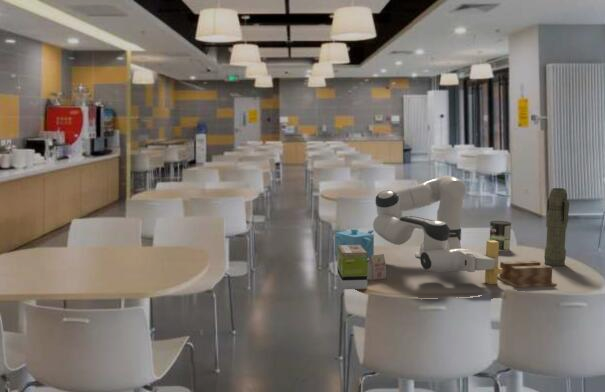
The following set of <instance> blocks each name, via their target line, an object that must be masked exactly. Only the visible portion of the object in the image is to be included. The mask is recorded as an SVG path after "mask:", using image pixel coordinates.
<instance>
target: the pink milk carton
mask: <svg viewBox="0 0 605 392" xmlns="http://www.w3.org/2000/svg"><path fill="white" fill-rule="evenodd" d="M386 271H387V264H386V259H385V254H384V253H381V254H380V253H379V254H374V255H370V257H369V258H368V261H367V278H368V279H367V280H370V279H371V280H370V281H378V280H377V279H379V280H384V278H386V277H387V274H386V273H387V272H386Z"/></svg>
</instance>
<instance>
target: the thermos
mask: <svg viewBox="0 0 605 392" xmlns="http://www.w3.org/2000/svg"><path fill="white" fill-rule="evenodd" d="M567 192H568V191H567V189H565V188H563V187H561V188H560V187H554V188H551V189H550V192H549V195H548V196H549V197H548V198H547V199H546V224H545V226H546V228H547V229H546V245H545V248H544V258H543V259H544V265H548V266H551V267H564V266H565V265H566V264H565V262H566V258H567V257H566V256H567V251H566V234H567V233H566V231H567V228H568V222H569V214H570V213H569V212H570V211H569V210H570V202H569V200H568V193H567Z"/></svg>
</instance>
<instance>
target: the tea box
mask: <svg viewBox="0 0 605 392" xmlns="http://www.w3.org/2000/svg"><path fill="white" fill-rule="evenodd" d="M336 257H337V259H336V260H337V265H336V267H337V274H336V275H337V281H338V283H339V285H340V287H341V289H342V290H365V289H366V290H367V289H368V279H367V264H368V261H367V260H368V258H367V252H366V251H365V250H364V248H363V247H362V246H361V245H338V246H337V256H336Z"/></svg>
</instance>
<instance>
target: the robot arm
mask: <svg viewBox="0 0 605 392" xmlns="http://www.w3.org/2000/svg"><path fill="white" fill-rule="evenodd" d="M466 192H467V187H466V185H465V183H464V181H463V180H462V179H460V178H458V177H455V176H452V175H443V176H439V177H436V178H434V179H433V178H432V179H431V180H428V181H425V182H422V183H418V184H415V185H410V186H407V187H404V188H401V189H398V190H395V191H393V190H383V191H380V192H379V193H378V194H377V195H376V196H375V205H376V207H375V208H376V213H377V216H376V217H375V218H374V220H373V223H372V228H373V230H374V232H375V233H376V234H377V235H378V236H380V237H381V238H382V239H383V240H385V241H387V242H389V244H390V243H391V244H393V245H397V246H398V245H404V244H406V242H408V241H410V239H411V237H412V235H413V232H414V231H415V229H419V230H421V231H423V234H424V236H423V241H422V242H421V244H420V247H419V250H417V251H416V252H415V253H414V256H415V258H420V264H421V267H422V268H423V269H424V270H425V271H429V272H438V273H439V272H441V273H442V272H448V271H453V272H468V273H475V272H476V271H485V270H489V269H493V268H494V267H495V262H498V263H499V257H498V258H496V257H492V258H490V257H487V256H486V253H481V252H478V251H477V250H476V251H475V250H473V249H467V248H462V245H461V240H462V228H461V222H462V221H461V220H462V219H461V218H462V209H463V204H464V199H465V196H466ZM437 202H439V205H438V209H437V211H436V214H437V215H436V217H437V218H436V220H435V219H429V218H424V217H418V216H415V215H414V216H413V215H405V216H404V215H403V212H408V211H412V210H417V209H421V208H425V207H428V206H431V205H432V204H435V203H437Z"/></svg>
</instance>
